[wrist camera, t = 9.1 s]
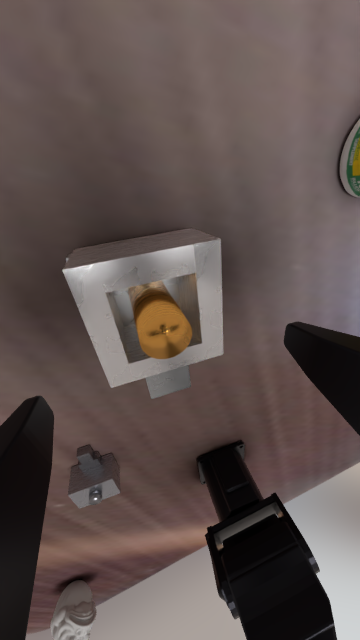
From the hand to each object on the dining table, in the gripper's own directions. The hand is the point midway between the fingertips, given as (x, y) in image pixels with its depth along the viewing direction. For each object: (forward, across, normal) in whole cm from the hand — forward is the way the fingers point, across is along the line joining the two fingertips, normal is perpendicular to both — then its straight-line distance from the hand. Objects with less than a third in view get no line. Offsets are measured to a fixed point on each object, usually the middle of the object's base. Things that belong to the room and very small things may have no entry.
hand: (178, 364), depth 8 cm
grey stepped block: (+9, +9, +18) cm, 21 cm away
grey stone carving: (+9, +21, +47) cm, 52 cm away
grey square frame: (+8, 0, 0) cm, 8 cm away
